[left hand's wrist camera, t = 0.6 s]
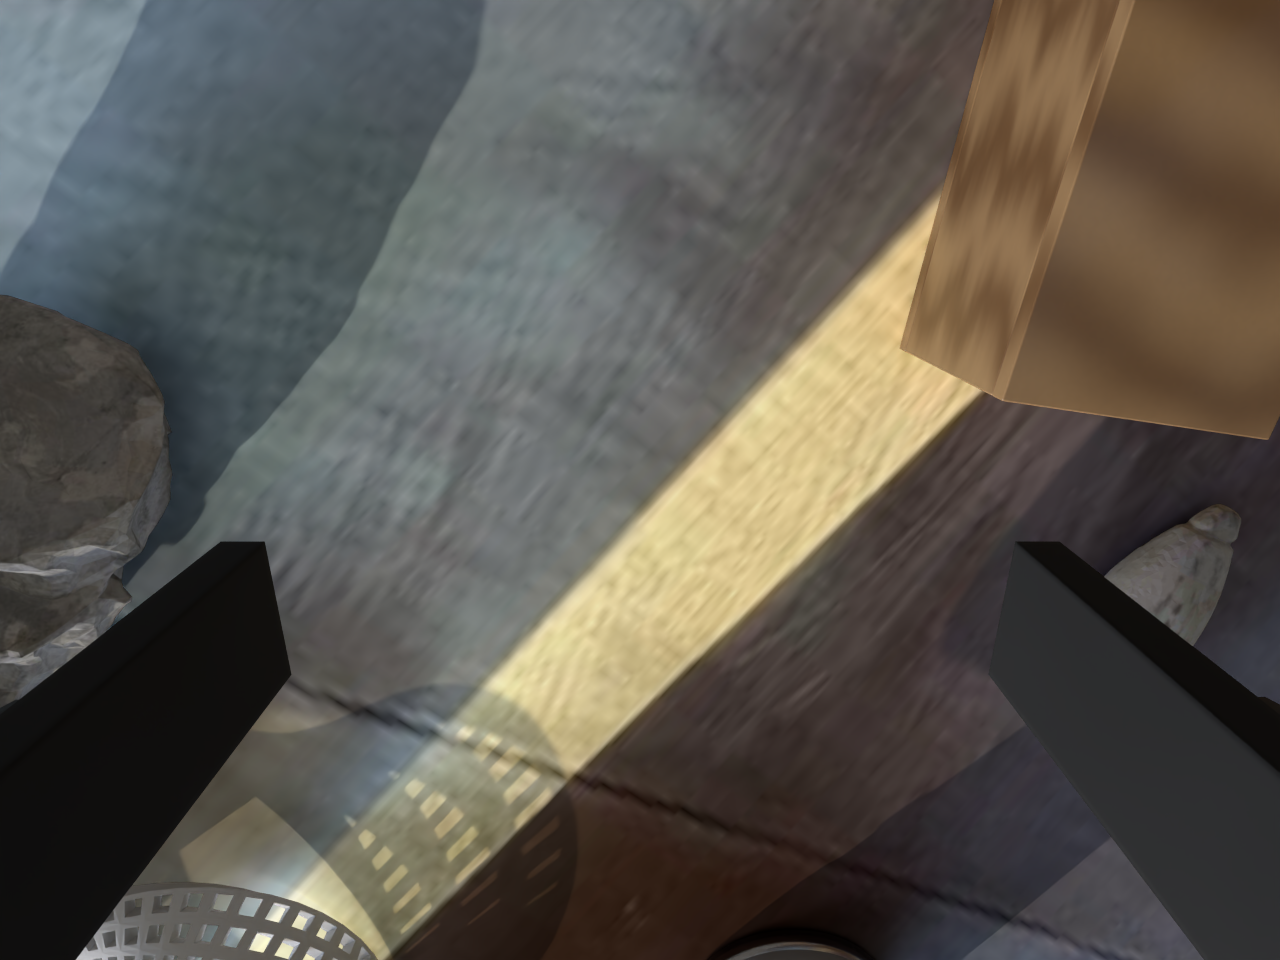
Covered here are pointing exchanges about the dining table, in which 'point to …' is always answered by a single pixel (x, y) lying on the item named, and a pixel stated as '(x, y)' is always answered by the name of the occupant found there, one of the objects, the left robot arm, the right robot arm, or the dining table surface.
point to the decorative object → (144, 956)
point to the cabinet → (1115, 215)
